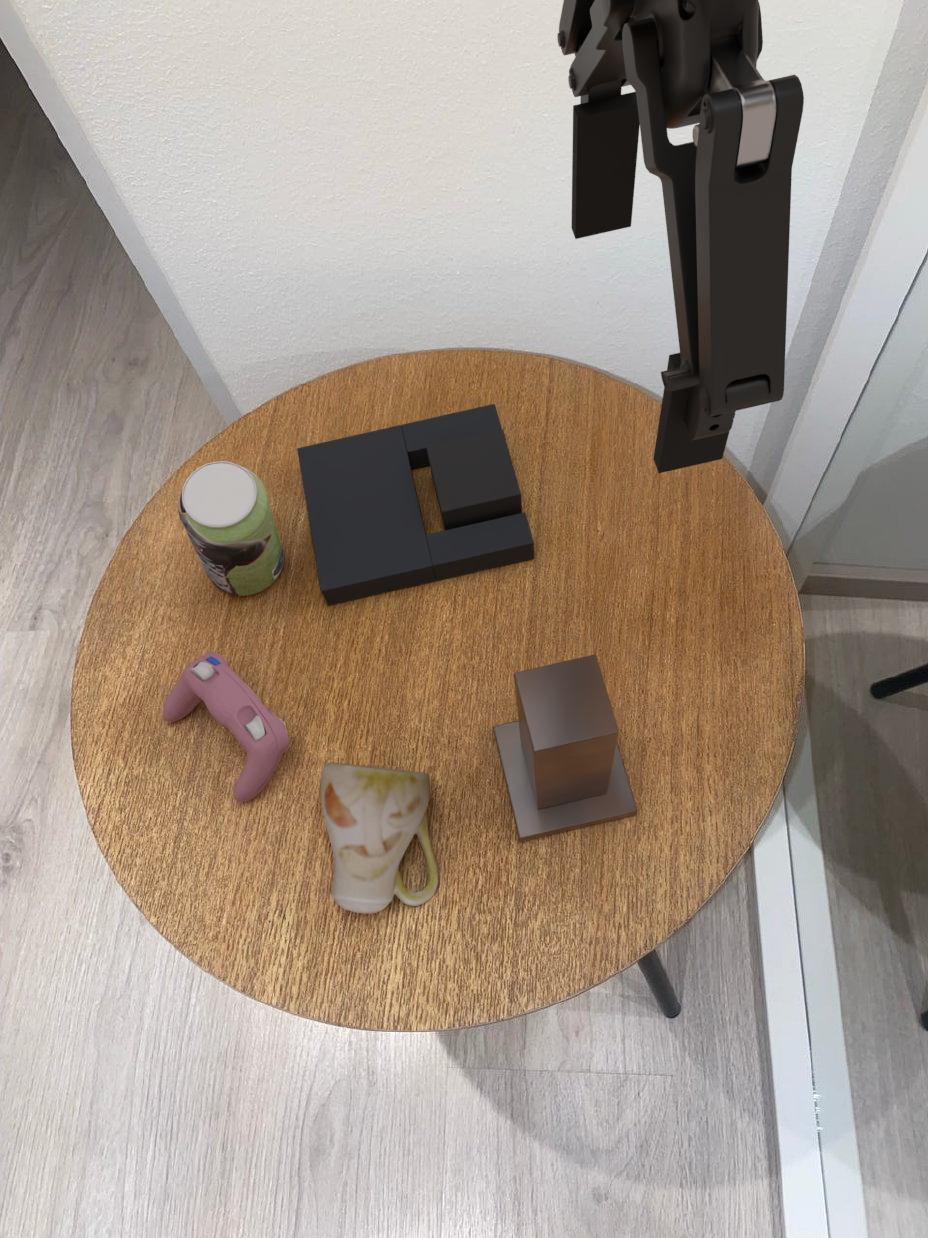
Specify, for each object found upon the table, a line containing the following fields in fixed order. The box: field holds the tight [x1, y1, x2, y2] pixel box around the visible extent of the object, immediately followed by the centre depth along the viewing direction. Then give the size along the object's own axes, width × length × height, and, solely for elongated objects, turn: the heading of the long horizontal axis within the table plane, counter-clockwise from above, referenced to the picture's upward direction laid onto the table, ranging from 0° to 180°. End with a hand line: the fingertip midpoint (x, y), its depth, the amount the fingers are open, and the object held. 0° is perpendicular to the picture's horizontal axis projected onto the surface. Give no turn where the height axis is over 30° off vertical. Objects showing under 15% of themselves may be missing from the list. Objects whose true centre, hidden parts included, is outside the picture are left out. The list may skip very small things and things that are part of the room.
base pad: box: [296, 403, 535, 606], centre depth 75 cm, size 16×13×2 cm
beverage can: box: [177, 460, 285, 596], centre depth 70 cm, size 6×7×12 cm
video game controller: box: [161, 650, 290, 804], centre depth 67 cm, size 10×5×7 cm, turn 44°
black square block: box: [426, 429, 523, 531], centre depth 74 cm, size 6×6×4 cm
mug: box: [319, 762, 440, 914], centre depth 63 cm, size 8×10×10 cm
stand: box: [492, 654, 638, 842], centre depth 60 cm, size 8×8×14 cm
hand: (641, 335), depth 43 cm, fingers open, 13 cm apart
